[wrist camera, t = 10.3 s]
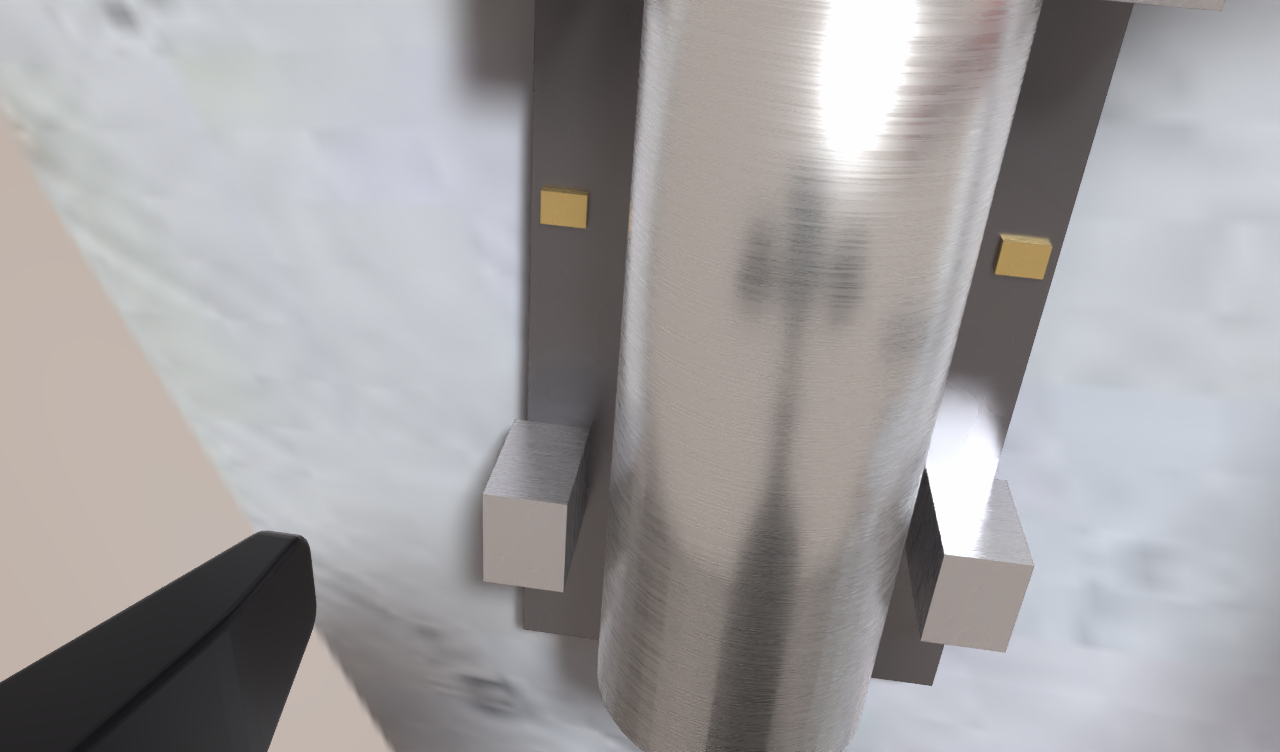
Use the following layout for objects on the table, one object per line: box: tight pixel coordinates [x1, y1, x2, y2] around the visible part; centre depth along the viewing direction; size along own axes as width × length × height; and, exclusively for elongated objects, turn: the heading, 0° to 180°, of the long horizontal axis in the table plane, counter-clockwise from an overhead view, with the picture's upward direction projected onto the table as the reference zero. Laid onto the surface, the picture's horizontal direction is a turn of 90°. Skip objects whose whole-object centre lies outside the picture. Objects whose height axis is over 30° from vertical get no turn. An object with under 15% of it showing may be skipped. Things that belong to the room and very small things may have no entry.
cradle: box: [483, 0, 1225, 686], centre depth 17 cm, size 20×10×4 cm, turn 176°
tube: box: [597, 0, 1043, 752], centre depth 16 cm, size 16×5×5 cm, turn 176°
